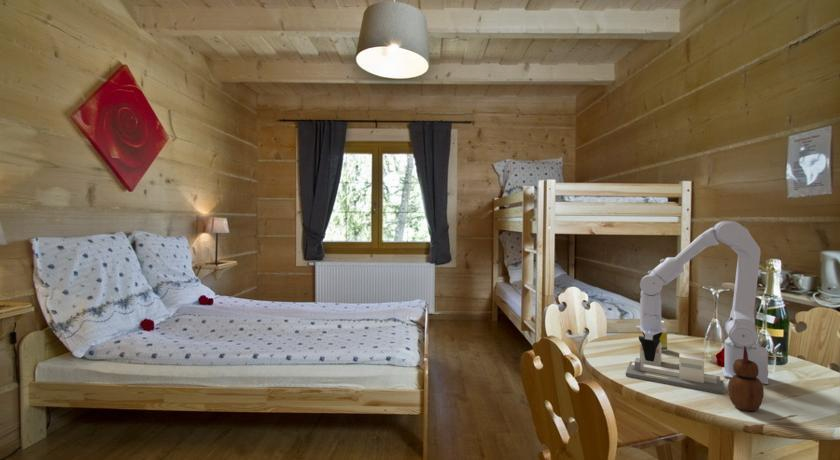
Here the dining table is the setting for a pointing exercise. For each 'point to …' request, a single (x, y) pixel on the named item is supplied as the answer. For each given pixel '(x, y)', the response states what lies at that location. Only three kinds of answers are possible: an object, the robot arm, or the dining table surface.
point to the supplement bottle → (663, 337)
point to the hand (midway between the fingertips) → (650, 357)
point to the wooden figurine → (745, 385)
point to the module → (656, 360)
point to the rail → (678, 373)
